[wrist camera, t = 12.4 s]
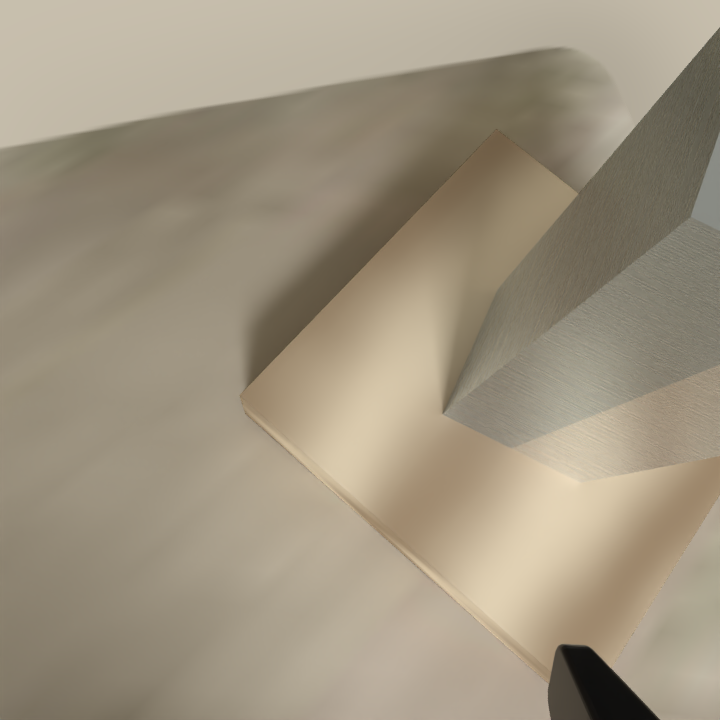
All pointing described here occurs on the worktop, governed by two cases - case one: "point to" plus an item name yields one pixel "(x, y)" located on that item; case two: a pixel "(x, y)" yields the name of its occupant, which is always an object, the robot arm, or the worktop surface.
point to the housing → (616, 307)
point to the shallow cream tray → (472, 431)
